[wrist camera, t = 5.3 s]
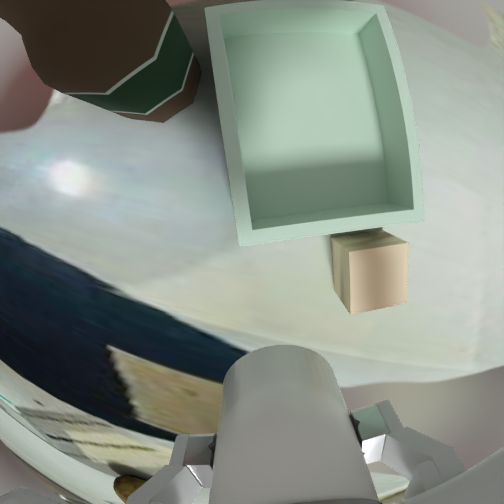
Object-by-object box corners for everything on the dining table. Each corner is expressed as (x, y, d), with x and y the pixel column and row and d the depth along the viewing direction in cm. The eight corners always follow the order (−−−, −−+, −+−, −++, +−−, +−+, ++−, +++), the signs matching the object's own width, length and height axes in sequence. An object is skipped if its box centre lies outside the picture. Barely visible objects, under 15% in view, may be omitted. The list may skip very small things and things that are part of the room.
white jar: (333, 330, 11) (409, 501, 4) (338, 414, 12) (377, 547, 5) (206, 353, 11) (168, 532, 4) (235, 432, 13) (228, 568, 5)
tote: (363, 28, 19) (383, 5, 15) (395, 212, 24) (424, 221, 19) (212, 35, 20) (204, 7, 15) (241, 232, 24) (239, 246, 20)
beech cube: (382, 230, 25) (408, 242, 20) (382, 281, 26) (406, 302, 21) (330, 237, 25) (348, 252, 20) (333, 290, 26) (350, 314, 21)
